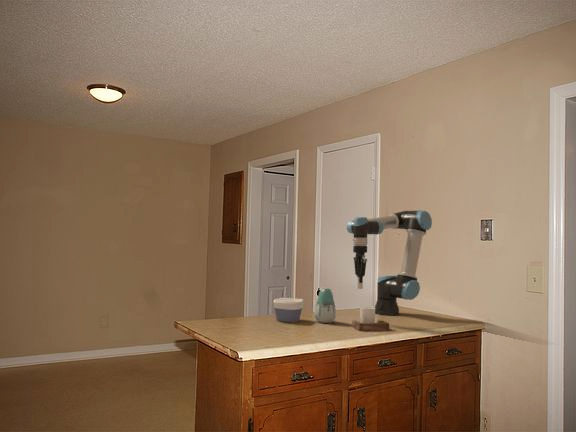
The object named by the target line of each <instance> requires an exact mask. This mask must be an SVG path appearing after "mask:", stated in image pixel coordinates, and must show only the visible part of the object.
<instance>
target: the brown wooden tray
mask: <svg viewBox="0 0 576 432" xmlns="http://www.w3.org/2000/svg"><path fill="white" fill-rule="evenodd" d="M351 327H352V328H353V329H356V330H358V331H359V332H361V331H362V332H364V331H365V332H368V331H371V332H373V331H375V330H377V331H390V323H389V322H388V321H385V320H382V319H377V320H376V322H374V323H361V321H359V320H357V319H352V322H351Z"/></svg>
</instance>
